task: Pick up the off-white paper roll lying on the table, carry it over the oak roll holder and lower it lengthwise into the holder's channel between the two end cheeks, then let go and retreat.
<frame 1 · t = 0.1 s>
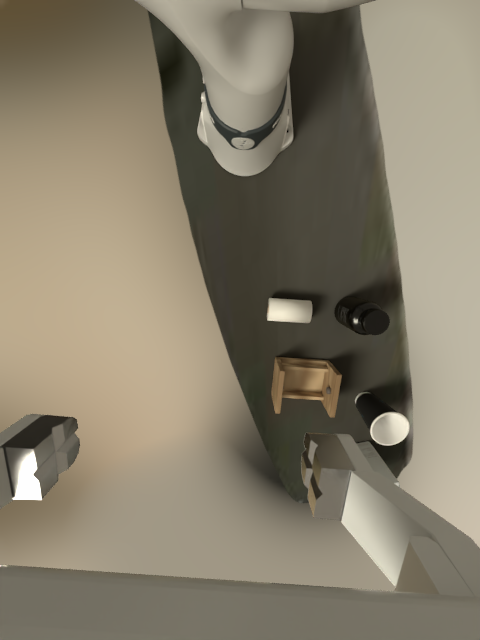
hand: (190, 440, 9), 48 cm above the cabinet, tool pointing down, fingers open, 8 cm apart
supplement bottle: (348, 310, 56), on the cabinet
supplement box: (357, 453, 65), on the cabinet
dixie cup: (364, 399, 61), on the cabinet
holder: (299, 377, 60), on the cabinet
paper roll: (288, 310, 54), point 2 cm above the cabinet
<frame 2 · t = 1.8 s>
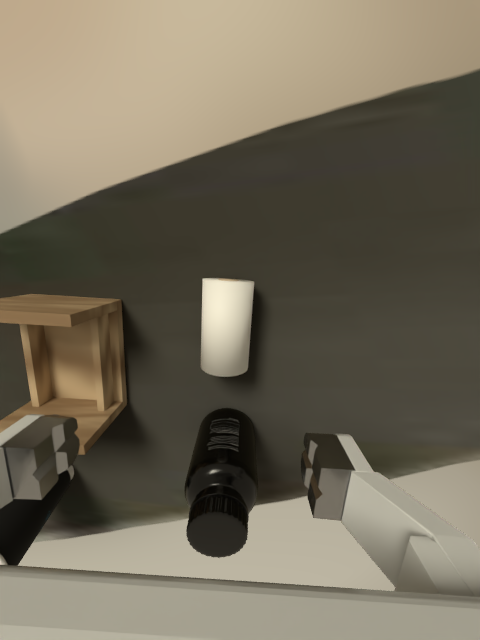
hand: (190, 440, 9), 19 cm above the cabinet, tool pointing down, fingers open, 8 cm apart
supplement bottle: (227, 429, 30), on the cabinet
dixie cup: (57, 468, 32), on the cabinet
holder: (81, 352, 28), on the cabinet
paper roll: (226, 324, 25), point 2 cm above the cabinet
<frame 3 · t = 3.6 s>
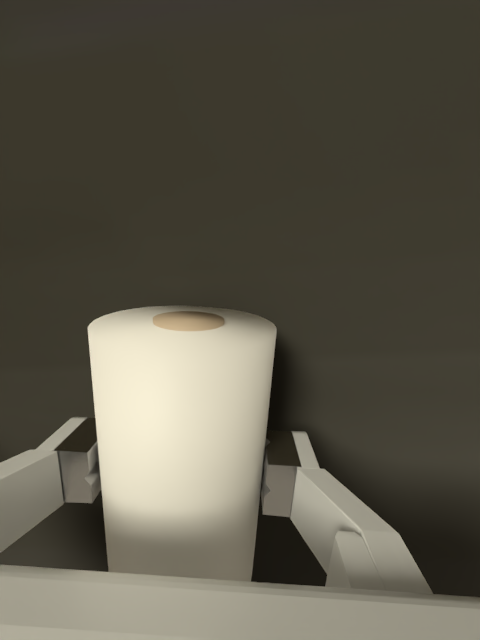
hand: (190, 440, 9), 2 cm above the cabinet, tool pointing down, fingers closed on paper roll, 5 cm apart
paper roll: (187, 453, 8), point 2 cm above the cabinet, touching gripper
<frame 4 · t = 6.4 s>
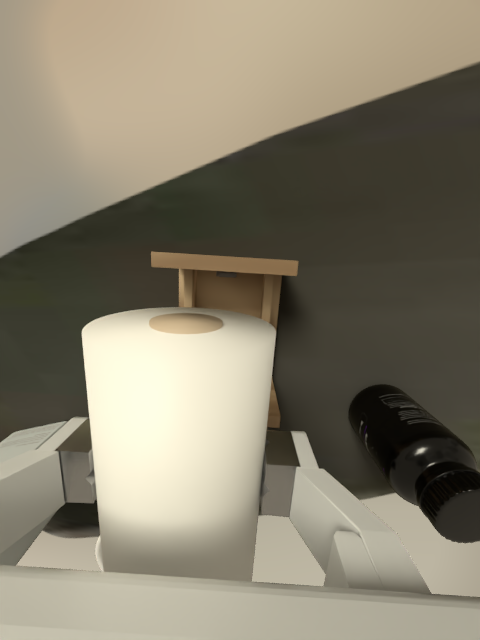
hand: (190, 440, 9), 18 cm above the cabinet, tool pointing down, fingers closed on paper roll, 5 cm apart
supplement bottle: (376, 408, 28), on the cabinet
supplement box: (54, 448, 30), on the cabinet
holder: (228, 321, 26), on the cabinet
paper roll: (185, 458, 8), point 18 cm above the cabinet, touching gripper
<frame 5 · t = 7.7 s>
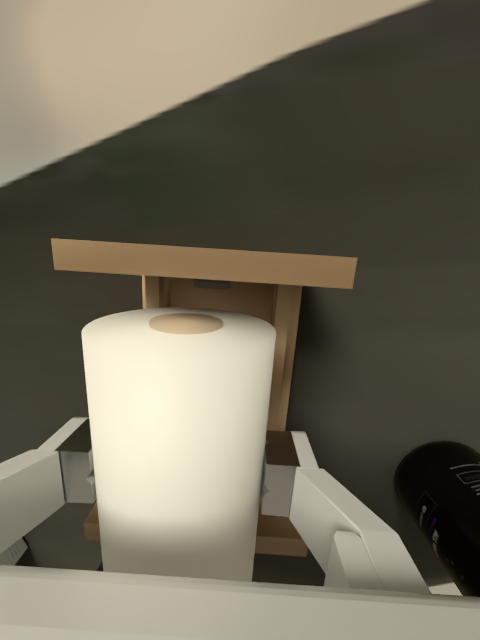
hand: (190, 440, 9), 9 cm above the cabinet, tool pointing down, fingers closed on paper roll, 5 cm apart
supplement bottle: (433, 472, 19), on the cabinet
holder: (220, 349, 17), on the cabinet
paper roll: (185, 458, 8), point 10 cm above the cabinet, touching gripper
when the fingers open (5 cm above the cabinet, at t = 8.8 s): paper roll drops 2 cm, resting on holder.
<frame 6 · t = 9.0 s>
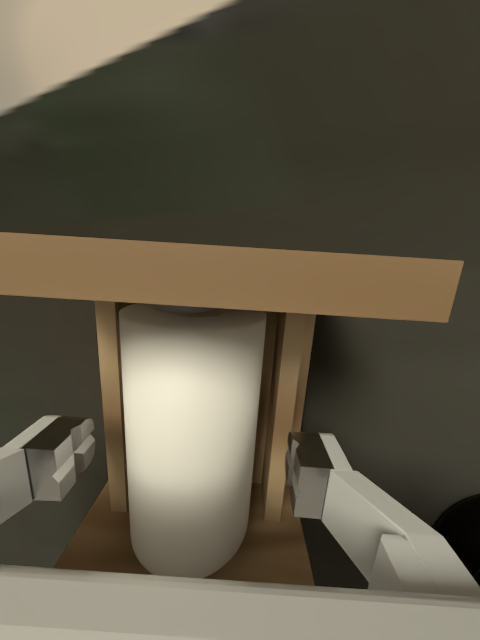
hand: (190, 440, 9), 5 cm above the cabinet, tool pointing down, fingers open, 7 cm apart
supplement bottle: (479, 528, 15), on the cabinet
holder: (208, 380, 13), on the cabinet
paper roll: (194, 420, 10), point 3 cm above the cabinet, touching holder
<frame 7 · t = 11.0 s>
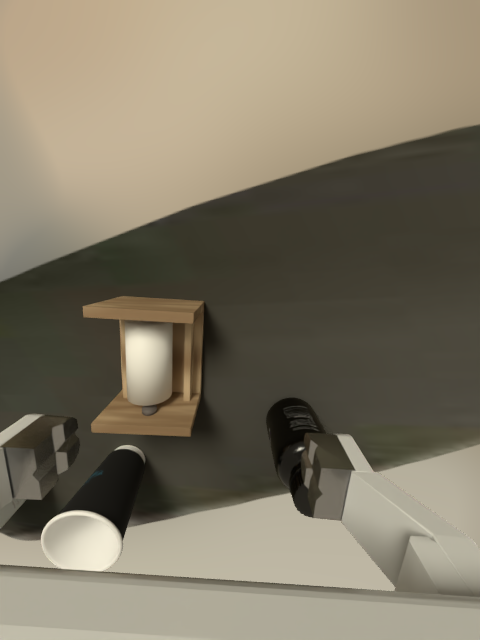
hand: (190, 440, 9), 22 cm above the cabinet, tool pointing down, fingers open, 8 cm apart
supplement bottle: (289, 417, 34), on the cabinet
supplement box: (15, 459, 35), on the cabinet
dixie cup: (129, 458, 35), on the cabinet
holder: (163, 348, 31), on the cabinet
paper roll: (149, 358, 28), point 3 cm above the cabinet, tilted 17°, touching holder
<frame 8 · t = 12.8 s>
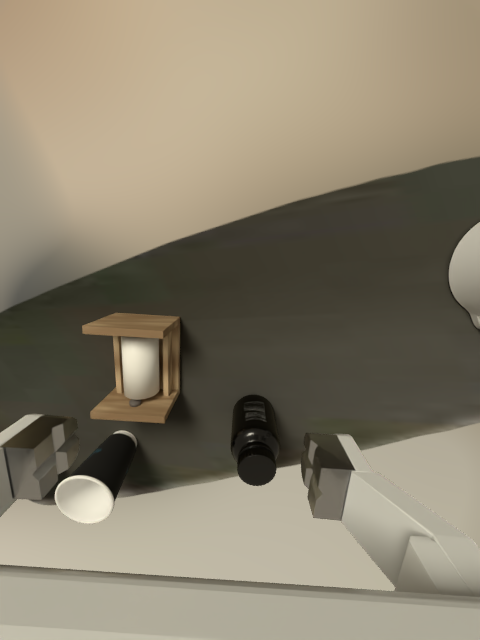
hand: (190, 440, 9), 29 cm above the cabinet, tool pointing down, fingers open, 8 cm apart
supplement bottle: (253, 410, 41), on the cabinet
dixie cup: (124, 441, 43), on the cabinet
holder: (149, 354, 39), on the cabinet
paper roll: (141, 362, 36), point 3 cm above the cabinet, touching holder
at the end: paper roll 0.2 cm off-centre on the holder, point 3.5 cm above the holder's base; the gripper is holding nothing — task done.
